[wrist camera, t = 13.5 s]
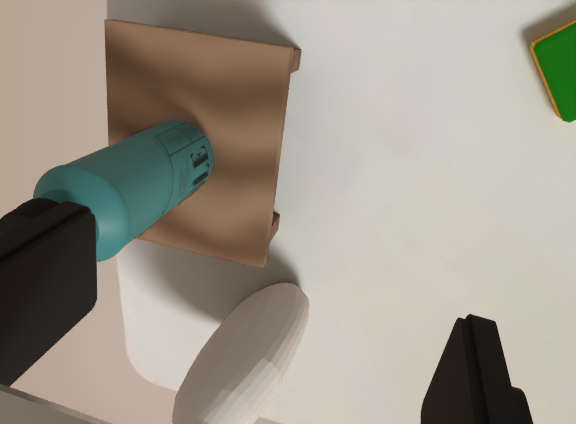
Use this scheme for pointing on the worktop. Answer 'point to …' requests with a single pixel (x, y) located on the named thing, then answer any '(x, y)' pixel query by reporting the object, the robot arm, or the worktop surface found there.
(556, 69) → the dish sponge
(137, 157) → the beverage bottle
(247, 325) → the soap bottle
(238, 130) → the footstool
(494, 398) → the robot arm
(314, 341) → the worktop surface
